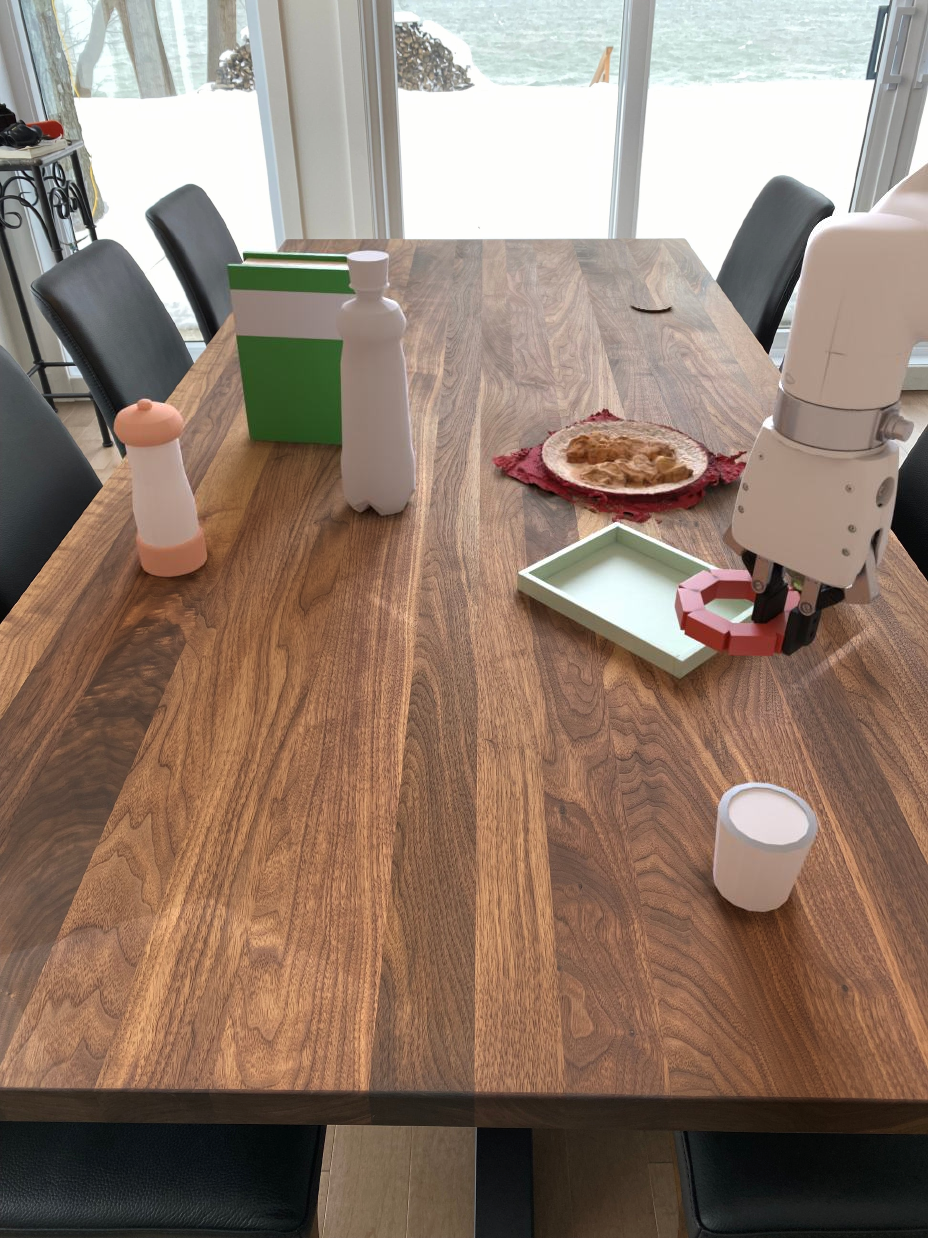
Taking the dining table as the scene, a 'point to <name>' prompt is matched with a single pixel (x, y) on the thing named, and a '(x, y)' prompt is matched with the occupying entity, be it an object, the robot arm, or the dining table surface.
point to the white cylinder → (761, 844)
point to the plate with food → (623, 466)
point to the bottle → (374, 392)
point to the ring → (720, 630)
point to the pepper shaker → (160, 490)
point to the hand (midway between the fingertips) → (780, 638)
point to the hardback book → (290, 343)
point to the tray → (628, 594)
